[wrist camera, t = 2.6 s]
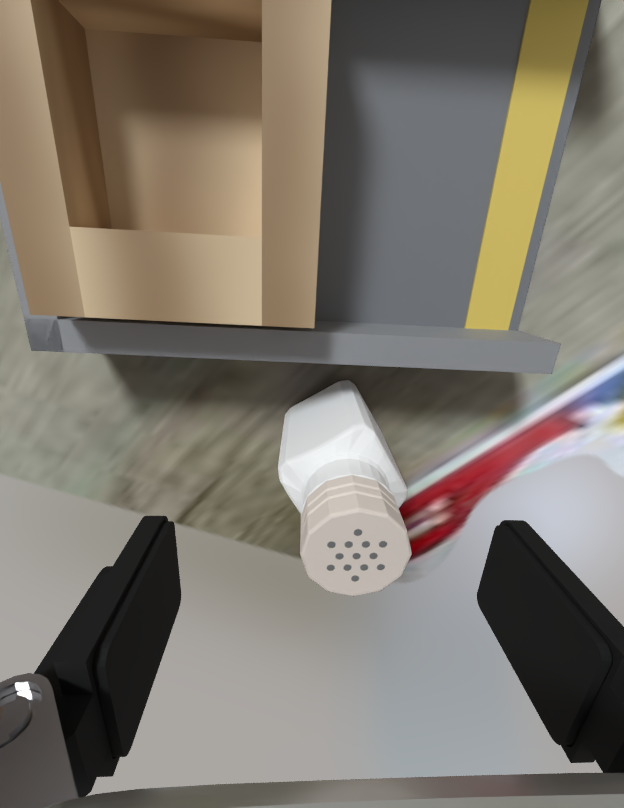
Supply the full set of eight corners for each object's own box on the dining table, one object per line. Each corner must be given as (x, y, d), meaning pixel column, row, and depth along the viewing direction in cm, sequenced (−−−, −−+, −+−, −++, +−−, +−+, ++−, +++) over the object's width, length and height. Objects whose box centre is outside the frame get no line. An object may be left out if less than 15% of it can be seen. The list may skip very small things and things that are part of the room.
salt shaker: (348, 371, 18) (389, 473, 9) (382, 433, 19) (447, 574, 11) (281, 408, 19) (259, 536, 10) (318, 466, 20) (328, 624, 11)
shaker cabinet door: (328, -20, 12) (340, -173, 8) (312, 311, 16) (314, 328, 12) (52, -42, 12) (-89, -214, 8) (104, 301, 16) (30, 314, 11)
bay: (593, -34, 13) (710, -156, 9) (500, 351, 18) (551, 374, 14) (21, -82, 12) (-105, -235, 8) (90, 332, 17) (31, 350, 13)
